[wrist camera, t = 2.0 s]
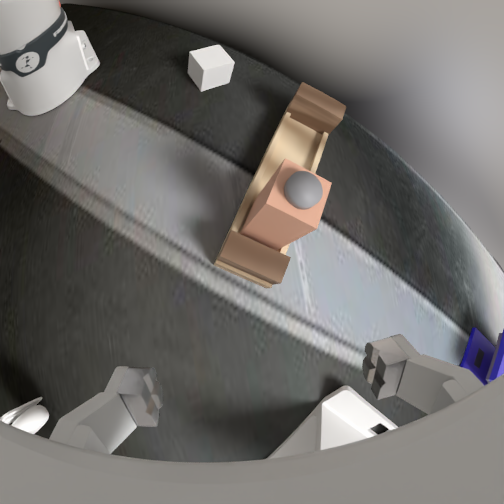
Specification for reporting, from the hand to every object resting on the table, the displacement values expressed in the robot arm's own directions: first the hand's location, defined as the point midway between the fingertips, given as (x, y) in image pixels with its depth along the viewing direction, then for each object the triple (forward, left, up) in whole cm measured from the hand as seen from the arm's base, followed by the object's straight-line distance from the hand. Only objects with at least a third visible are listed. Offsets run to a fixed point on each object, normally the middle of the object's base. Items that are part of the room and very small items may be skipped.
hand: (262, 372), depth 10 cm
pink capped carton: (-8, +10, -21) cm, 25 cm away
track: (-13, +15, -23) cm, 31 cm away
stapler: (+40, +51, -24) cm, 69 cm away
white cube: (-34, +12, -24) cm, 43 cm away
